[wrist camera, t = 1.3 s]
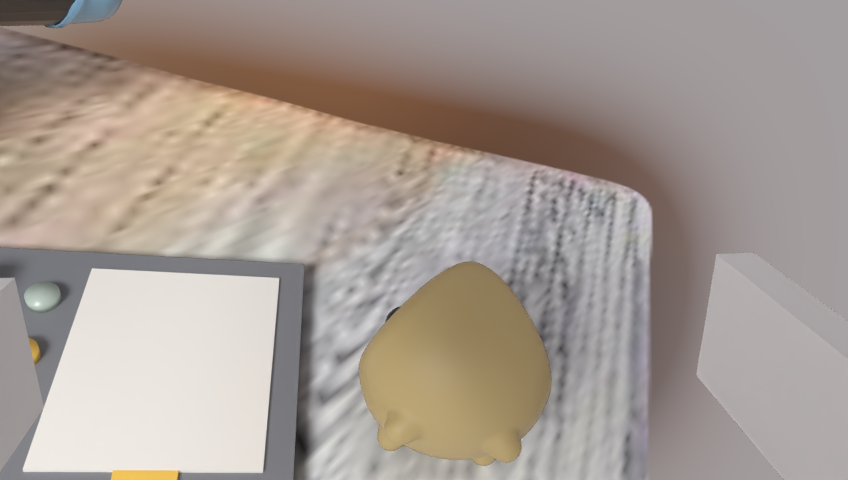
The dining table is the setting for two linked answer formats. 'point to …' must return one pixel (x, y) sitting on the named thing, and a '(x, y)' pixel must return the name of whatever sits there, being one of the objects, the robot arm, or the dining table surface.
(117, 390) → the breaker panel
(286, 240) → the dining table surface
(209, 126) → the dining table surface
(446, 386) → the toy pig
